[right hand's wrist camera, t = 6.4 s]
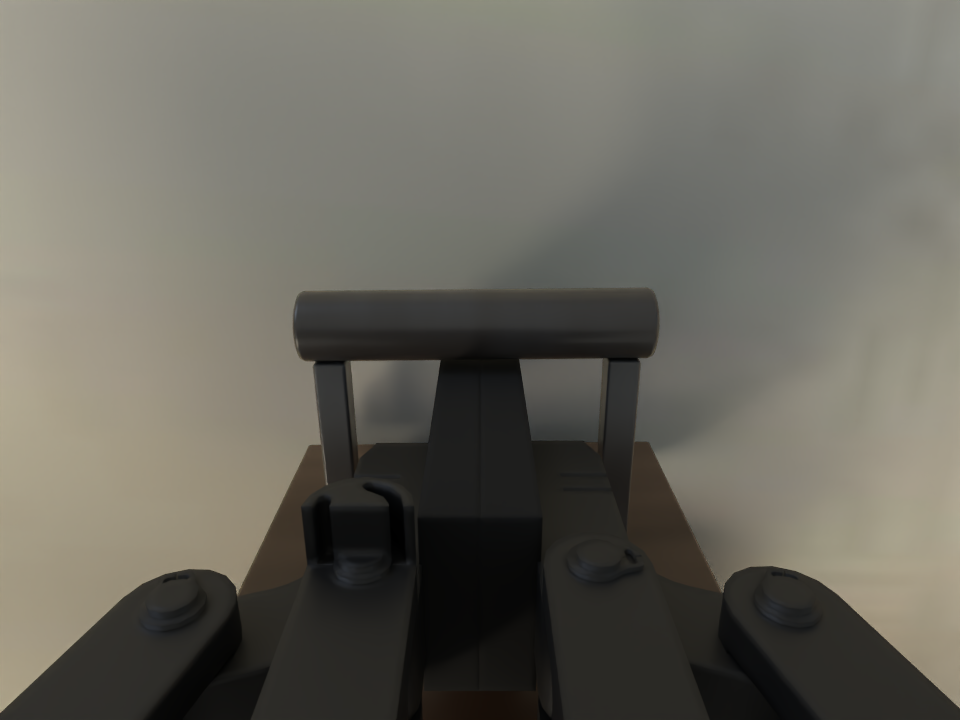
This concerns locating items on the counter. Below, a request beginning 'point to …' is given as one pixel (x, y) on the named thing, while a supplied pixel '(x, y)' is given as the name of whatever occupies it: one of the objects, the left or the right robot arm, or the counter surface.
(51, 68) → the counter surface
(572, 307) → the drawer
